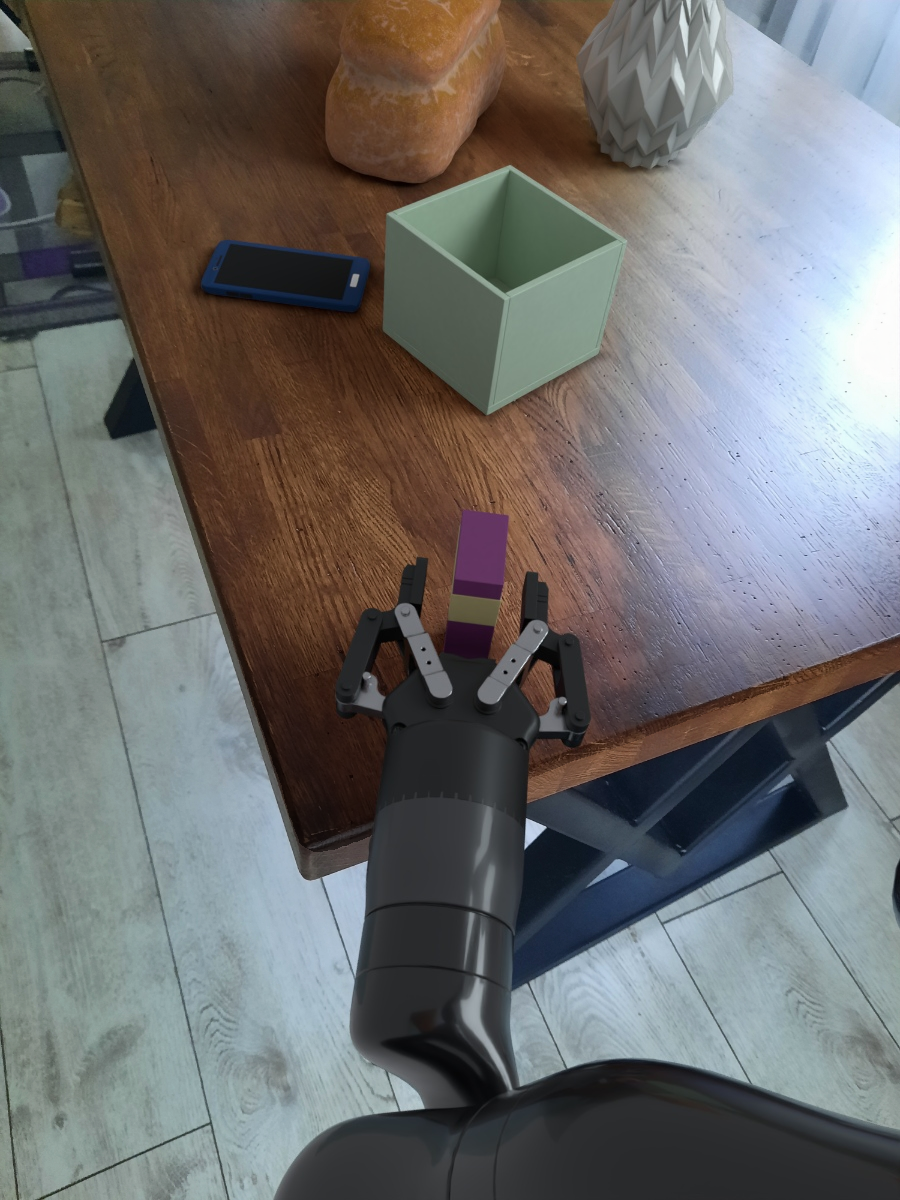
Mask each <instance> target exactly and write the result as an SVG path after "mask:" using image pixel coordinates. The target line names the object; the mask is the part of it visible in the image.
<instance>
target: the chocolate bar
mask: <svg viewBox="0 0 900 1200" xmlns="http://www.w3.org/2000/svg"><path fill="white" fill-rule="evenodd" d="M509 520H510V515H509V514H504V513H503V514H502V513H495V512H487V511H481V510H470V509H462V512H461V519H460V524H459V527H458V534H457V541H456V546H455V547H456V548H455V556H454V563H453V571H452V580H451V588H450V597H449V604H448V611H447V619H446V626H445V631H444V633H445V634H444V642H443V650H442V653H450V654H455V655H458V656H461V657H463V658H466V659H473V658H489V655H490V651H491V647H492V642H493V637H494V632H495V628H496V626H497V623H498V618H499V614H500V609H501V604H502V595H503V591H504V590H503V589H504V585H505V573H506V562H507V561H506V559H507V548H508V547H507V546H508V535H509V533H508V532H509V522H510V521H509Z"/></svg>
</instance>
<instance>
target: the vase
mask: <svg viewBox="0 0 900 1200" xmlns="http://www.w3.org/2000/svg"><path fill="white" fill-rule="evenodd" d="M575 57H576V58H575V60H576V65H577V69H578V74H579V77H580V83H581V87H582V94H583V101H584V105H585V109H586V112H587V113H586V114H587V118H588V122H589V125H590V128H591V129H592V130H594V132H595V133H596V142H597V144H599V145H600V153H603V154H606V155H609V157H610V159H611V161H612V162H617V163H618V162H619V163H620V162H621V163H624V164H625V165H627V166H628V167H629V168H635V167H640V166H641V167H643V168H645V169H647V170H651V169H653V168H654V167H655V166H659V167H660V166H661V167H667V165H668V163H669V161H672V160H673V161H674V160H676V158H677V156H678V154H679V152H680V151H681V150H683V149H686V148H687V147H689V145H690V144H691V143H692V142H693V141H694V140H695V139H696V138H697V137H698V135H700V134H701V132H702V131H703V130H704V129H705V128H706V127H707V125H708V124H709V122H710V121H711V120H712V118H713V116H714V115H715V114H716V113H717V112H718V111H719V110H720V108H722V106H723V105H724V104H725V102H727V100H728V99H729V98H730V97H731V96H732V95H733V93H734V92H735V83H734V82H735V81H734V66H733V65H734V62H733V53H732V50H731V48H730V46H729V44H728V41H727V7H726V4H725V1H724V0H614V1H613V2H612V4H611V7H610V8H609V11H608V12H607V14H606V16H605V17H604V18H603V19H601V21H599V22H598V23H597V24H596V25H595V27H594V28H593V29H592V31H591V32H590V34H589V36H588V37H587V39H586V41H585V43H584V44H583V45H582V47H581V49H580V50H579V52H578V54H577V55H576V56H575Z"/></svg>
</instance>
